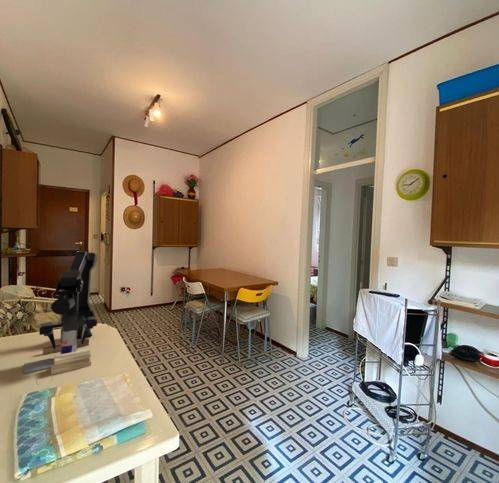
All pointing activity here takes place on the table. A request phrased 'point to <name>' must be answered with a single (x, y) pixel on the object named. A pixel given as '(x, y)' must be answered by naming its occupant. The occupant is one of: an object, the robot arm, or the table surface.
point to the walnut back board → (50, 348)
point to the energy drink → (68, 341)
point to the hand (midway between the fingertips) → (68, 346)
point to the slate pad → (37, 365)
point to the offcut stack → (70, 361)
